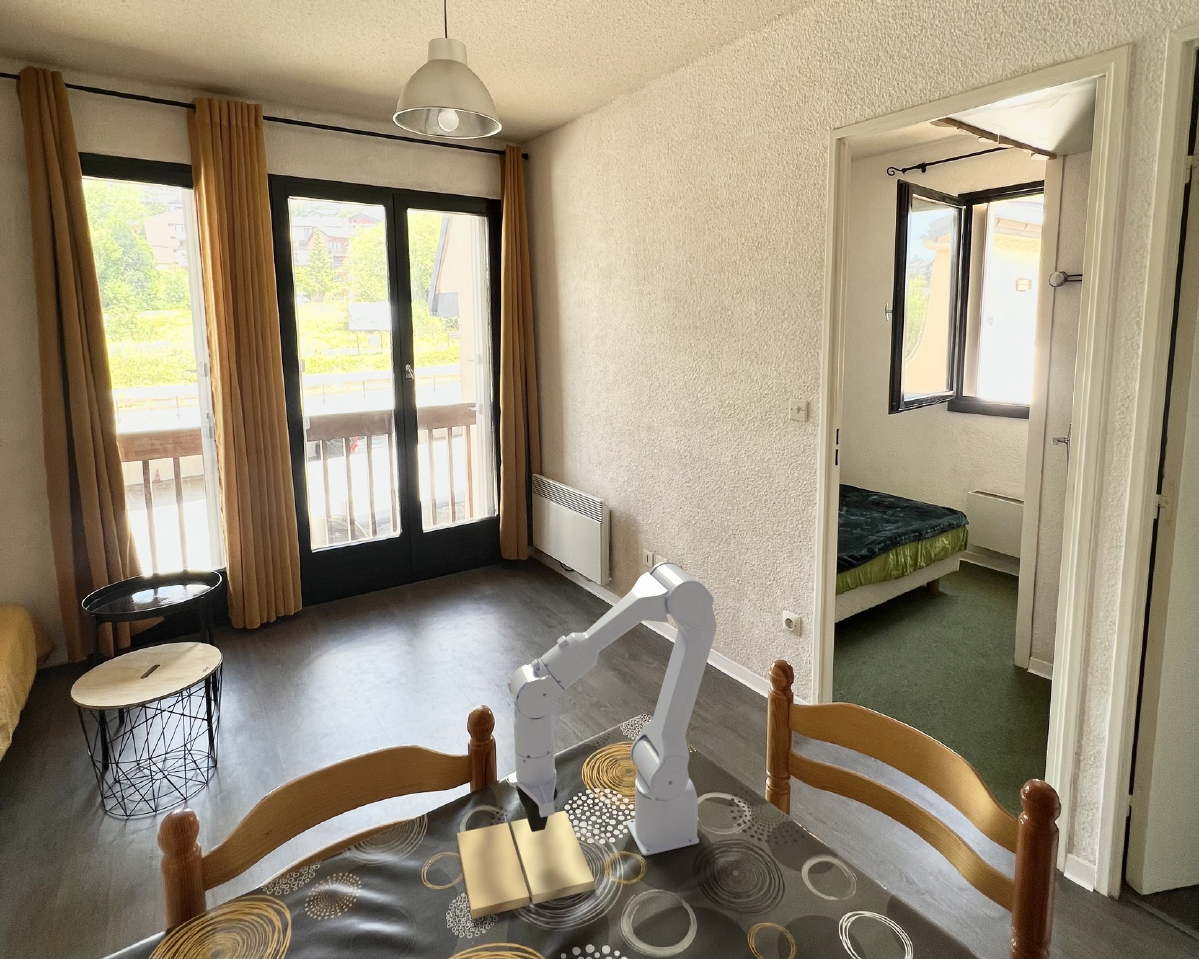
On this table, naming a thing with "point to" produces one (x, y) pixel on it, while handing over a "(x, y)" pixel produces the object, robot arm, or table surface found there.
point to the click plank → (551, 859)
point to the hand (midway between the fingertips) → (537, 827)
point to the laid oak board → (491, 870)
